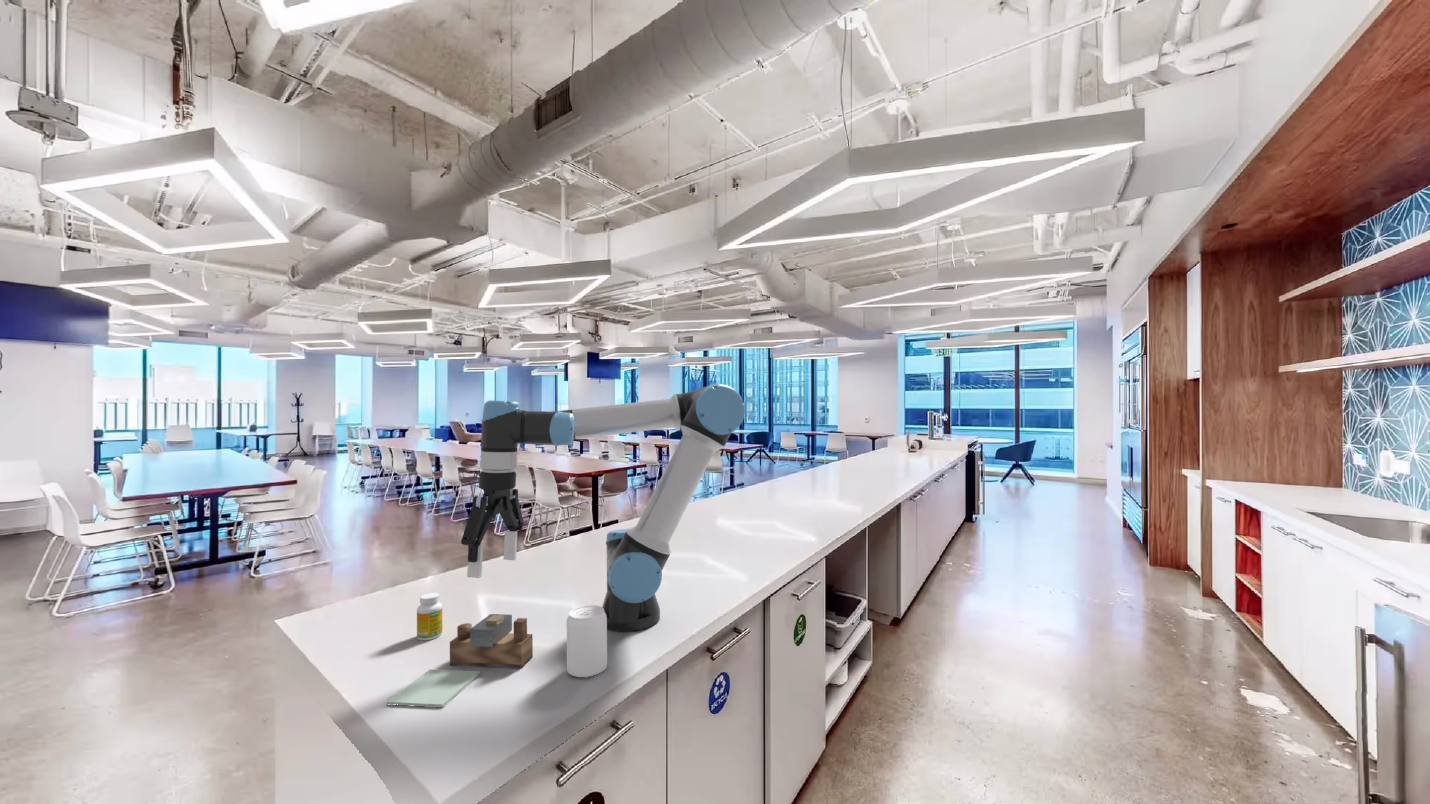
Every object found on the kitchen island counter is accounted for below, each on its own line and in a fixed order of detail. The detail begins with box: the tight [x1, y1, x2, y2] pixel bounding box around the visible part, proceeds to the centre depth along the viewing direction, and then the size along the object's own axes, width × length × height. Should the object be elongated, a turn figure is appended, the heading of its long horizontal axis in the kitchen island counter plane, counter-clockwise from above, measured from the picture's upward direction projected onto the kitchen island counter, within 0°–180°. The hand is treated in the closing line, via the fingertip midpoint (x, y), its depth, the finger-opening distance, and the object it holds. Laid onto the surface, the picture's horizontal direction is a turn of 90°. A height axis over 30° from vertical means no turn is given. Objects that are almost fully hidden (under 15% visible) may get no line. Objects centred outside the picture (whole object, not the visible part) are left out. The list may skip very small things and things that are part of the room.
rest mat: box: [386, 668, 481, 708], centre depth 101 cm, size 11×12×1 cm
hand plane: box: [449, 617, 534, 669], centre depth 112 cm, size 16×5×9 cm, turn 84°
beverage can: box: [566, 604, 608, 678], centre depth 107 cm, size 8×8×12 cm
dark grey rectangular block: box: [470, 613, 513, 647], centre depth 112 cm, size 5×8×4 cm, turn 174°
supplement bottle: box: [416, 592, 443, 641], centre depth 125 cm, size 5×5×10 cm
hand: (493, 567), depth 113 cm, fingers open, 13 cm apart
